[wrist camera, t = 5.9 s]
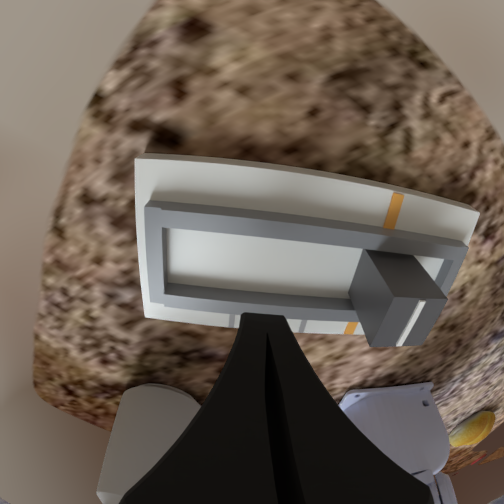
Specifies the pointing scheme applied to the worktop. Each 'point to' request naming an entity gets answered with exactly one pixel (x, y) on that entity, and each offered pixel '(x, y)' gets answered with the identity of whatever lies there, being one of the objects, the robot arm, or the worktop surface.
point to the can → (142, 435)
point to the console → (278, 239)
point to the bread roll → (472, 429)
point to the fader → (394, 299)
